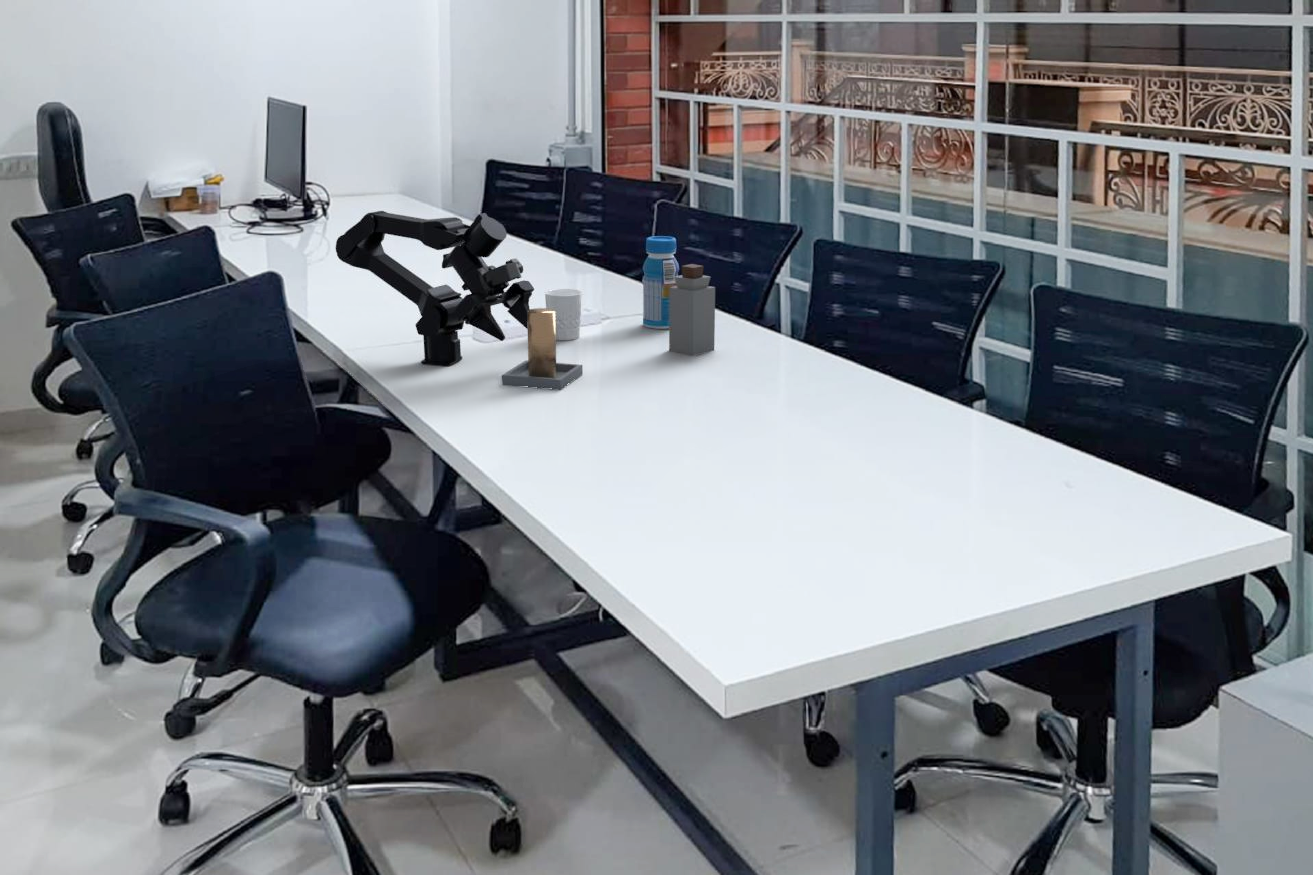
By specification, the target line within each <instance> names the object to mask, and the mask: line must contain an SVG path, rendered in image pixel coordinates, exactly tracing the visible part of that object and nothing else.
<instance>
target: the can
mask: <svg viewBox="0 0 1313 875" xmlns="http://www.w3.org/2000/svg"><path fill="white" fill-rule="evenodd" d="M527 327H528V329H527V360H528V370H529V376H533V377H545V378H556V363H557V340H556V320H555V310H553V309H548V308H546V307H539V308H538V307H537V308H531V309H530V310H528V311H527Z"/></svg>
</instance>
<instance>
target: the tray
mask: <svg viewBox="0 0 1313 875" xmlns="http://www.w3.org/2000/svg"><path fill="white" fill-rule="evenodd" d="M583 372H584V371H583V364H576V363H562V362H556V378H545V377H533V376H529V370H528V359H526V360H524V361H522V362H521V363H520V364H519V363H518V364H517V365H516V366H514V367H513V368H511V369H510V370H508V371H506V372H504V373H503V374H501V384H502V386H509V387H518V386H528V387H527V388H530V387H537V388H536V389H541V388H552V389H551V390H553V389H558V390H557V391H562V390H563V389H564V388H566V387H567V386H568V385H567V384H568V383H570V382H571V381H573V380H574V379H576V378H577V377H579V376H580V375H581V376H583V375H584V374H583ZM582 374H583V375H582ZM581 376H580V377H581ZM580 377H579V378H580ZM577 379H578V378H577ZM577 379H576V380H577ZM574 381H575V380H574ZM574 381H573V382H574ZM570 384H571V383H570ZM565 386H566V387H565ZM562 388H563V389H562ZM561 389H562V390H561Z"/></svg>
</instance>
